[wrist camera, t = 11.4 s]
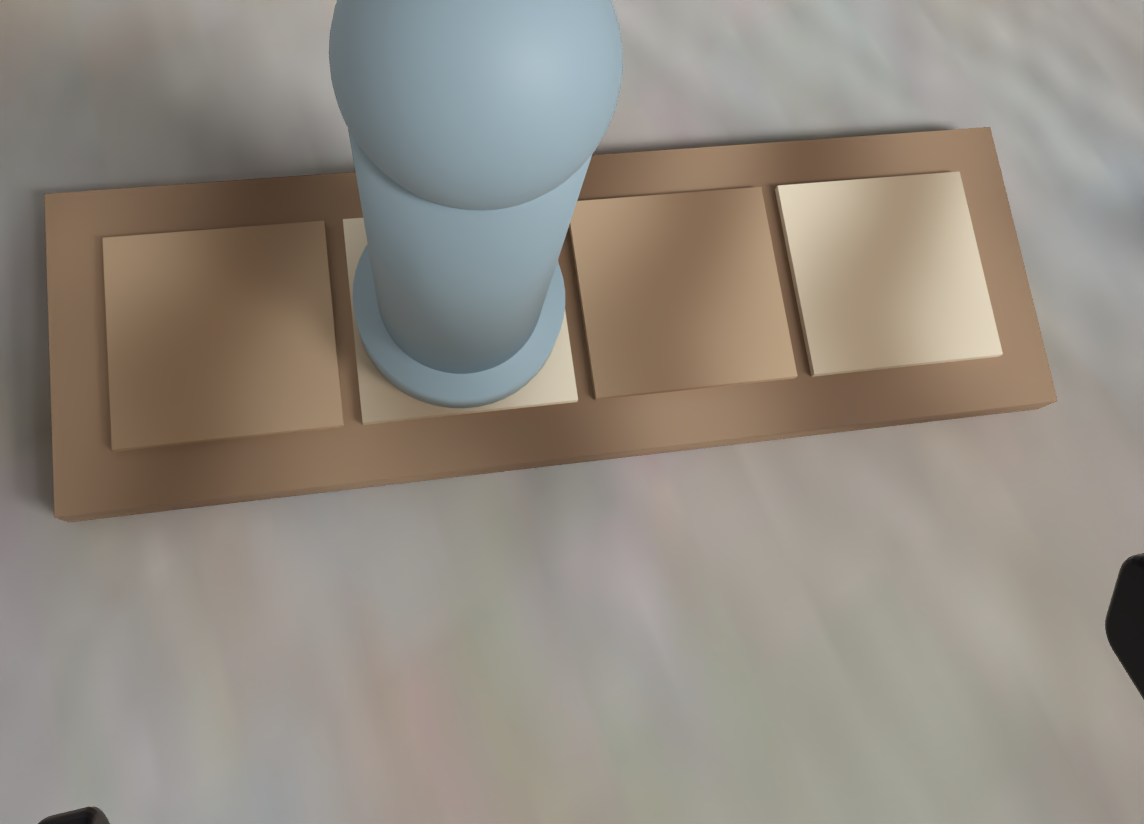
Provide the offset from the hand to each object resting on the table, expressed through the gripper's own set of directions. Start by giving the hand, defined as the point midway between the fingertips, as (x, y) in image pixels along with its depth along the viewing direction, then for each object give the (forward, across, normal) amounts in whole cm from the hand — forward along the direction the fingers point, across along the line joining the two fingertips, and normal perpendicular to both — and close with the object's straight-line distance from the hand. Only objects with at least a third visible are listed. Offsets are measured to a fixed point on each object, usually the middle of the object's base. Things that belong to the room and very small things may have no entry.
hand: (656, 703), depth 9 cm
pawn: (+14, 0, +3) cm, 15 cm away
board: (+15, -3, +4) cm, 16 cm away
